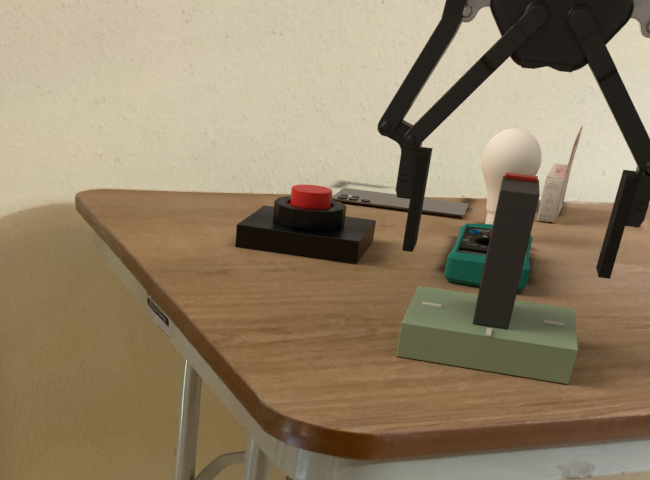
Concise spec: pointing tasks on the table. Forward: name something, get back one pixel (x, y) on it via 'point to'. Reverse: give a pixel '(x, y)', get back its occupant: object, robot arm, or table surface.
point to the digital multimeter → (475, 256)
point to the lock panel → (489, 336)
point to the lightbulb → (508, 162)
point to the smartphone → (399, 202)
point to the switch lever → (507, 249)
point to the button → (311, 196)
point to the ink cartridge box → (555, 188)
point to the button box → (306, 232)
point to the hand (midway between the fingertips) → (503, 260)
